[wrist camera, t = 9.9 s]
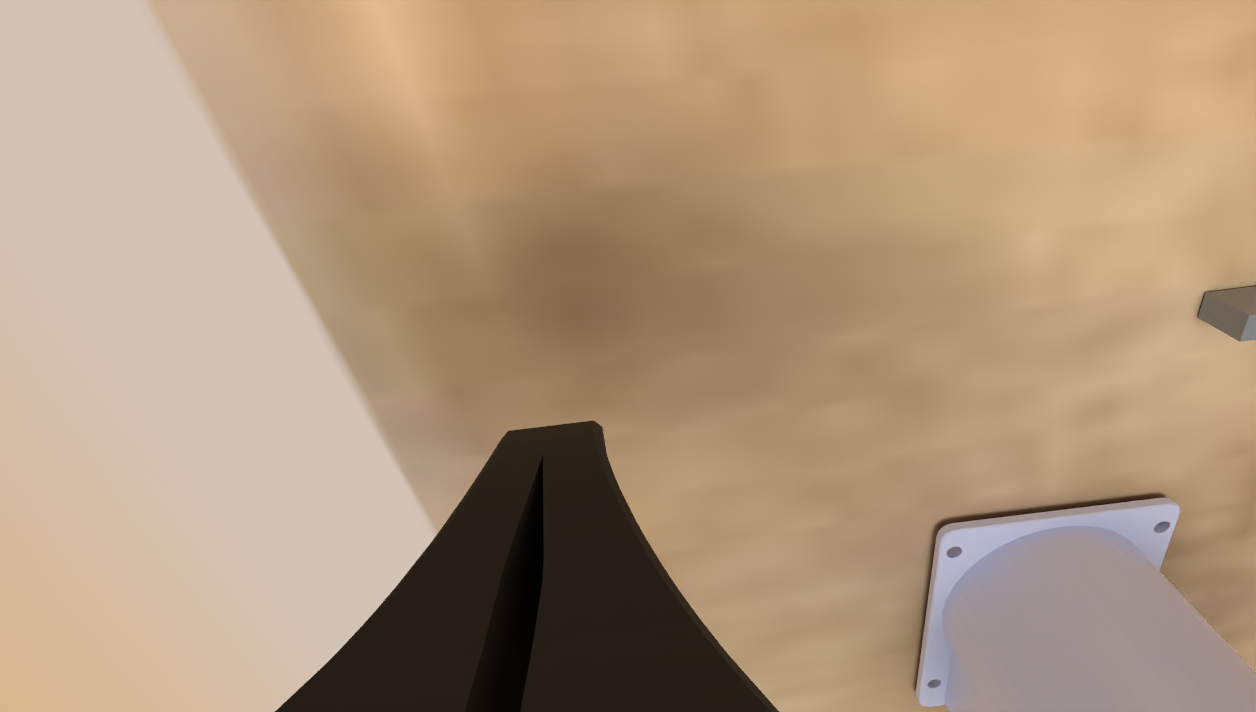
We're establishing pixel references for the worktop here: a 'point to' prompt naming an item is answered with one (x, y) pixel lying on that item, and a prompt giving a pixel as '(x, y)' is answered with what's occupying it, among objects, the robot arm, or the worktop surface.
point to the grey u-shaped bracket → (1231, 312)
